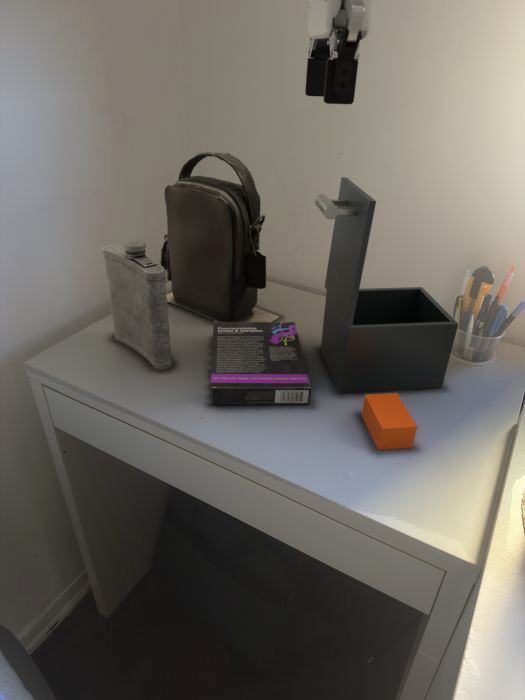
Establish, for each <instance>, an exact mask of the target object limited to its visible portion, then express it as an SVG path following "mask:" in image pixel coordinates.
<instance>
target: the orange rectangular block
mask: <svg viewBox="0 0 525 700" xmlns="http://www.w3.org/2000/svg"><path fill="white" fill-rule="evenodd" d="M361 417H362V419H363V421H364V424H365V425H366V428H367V430H368V432H369V434H370V436H371V438H372V440H373V441H374V444H375V446H376V448H377V450H378V451H386V450H400V449H412V448H413V446H414V442H415V439H416V434H417V430H418V424H417V423H416V421H415V420H414V418H413V416H412V415H411V413H410V411H409V410H408V409H407V407H406V405H405V403H404V402H403V400H402V398H401V397H400V395H399V394H398V392H390V393H372V394H371V393H370V394H364V399H363V404H362V411H361Z"/></svg>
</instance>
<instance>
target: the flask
mask: <svg viewBox="0 0 525 700" xmlns="http://www.w3.org/2000/svg"><path fill="white" fill-rule="evenodd" d="M146 249H147V242H146V241H145V240H141V239H130V240H126V241H124V242H123V243H122V245H120V244H108V245H105V246H103V247H102V254H103V261H104V268H105V274H106V282H107V290H108V297H109V302H110V303H109V305H110V310H111V320H112V324H113V331H114V332H113V333H114V338H115V340H116V341H117V342H120V343H122V344H124V345H126V346H128V347H130V348H131V349H133V350H135V351H136V352H137V353H138V354H140V355H141V356H143V357H144V359H146V360H147V361H148V362H149V363H150V365H152V367H153V368H154V369H156V370H161V371H163V370H164V371H165V370H167V369H169V368H171V367H172V363H173V361H172V351H171V350H172V349H171V336H170V323H169V310H168V301H167V294H168V293H167V282H166V270H165V269H164V268H163V267H162V266H161V263H158V262H157V261H156V260H154V259H152V258H151V257H149V256H147V255H146V254H147V253H146V251H147V250H146Z"/></svg>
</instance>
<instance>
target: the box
mask: <svg viewBox="0 0 525 700" xmlns="http://www.w3.org/2000/svg"><path fill="white" fill-rule="evenodd" d="M212 324H213V325H212V346H211V347H212V349H211V367H210V386H209V387H210V389H209V390H210V403H211V404H212V405H310V402H311V396H312V395H311V394H312V385H311V382H310V378H309V374H308V370H307V367H306V363H305V359H304V355H303V350H302V346H301V343H300V338H299V334H298V330H297V326H296V322H295V321H286V322H285V321H283V322H281V321H279V322H278V321H275V322H273V321H272V322H216V321H214V320H213V323H212Z"/></svg>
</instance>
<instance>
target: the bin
mask: <svg viewBox="0 0 525 700" xmlns="http://www.w3.org/2000/svg"><path fill="white" fill-rule="evenodd" d="M325 294H326V295H325V302H324V313H323V322H322V333H321V342H320V351H321V353H322V355H323V358H324V359H325V362H326V364H327V366H328V368H329V371H330V373H331V375H332V378H333V380H334V382H335V384H336V386H337V389H338V391H339V393H340V394H353V393H370V392H374V393H375V392H389V391H390V392H391V391H406V390H425V389H442V388H443V385H444V381H445V378H446V374H447V370H448V366H449V363H450V359H451V354H452V351H453V346H454V342H455V340H456V334H457V331H458V328H459V323H458V322H457V321H456V319H454V317H452V316H451V314H449V312H448V311H447V310H446V309H444V307H442V305H440V303H439V302H438V301H436V300H435V298H433V296H432V295H431V294H430V293H428V291H427V290H426V289H425V288H423V287H422V286H408V287H405V286H404V287H371V288H359V293H358V298H357V303H356V309H355V314H354V319H353V324H352V325H347V324H346V323H345V321H344V319H343V318H342V316H341V314H340V312H339V311H338V309H337V307H336V306H335V304H334V302H333V300H332V299H331V297H330V295H329V293H328V292H327V291H326V293H325Z"/></svg>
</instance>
